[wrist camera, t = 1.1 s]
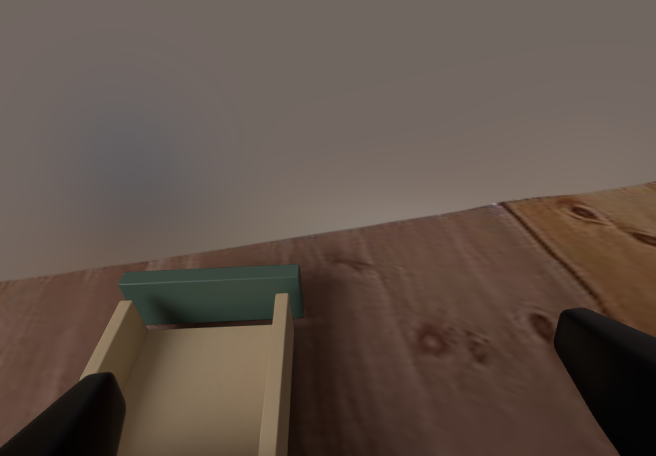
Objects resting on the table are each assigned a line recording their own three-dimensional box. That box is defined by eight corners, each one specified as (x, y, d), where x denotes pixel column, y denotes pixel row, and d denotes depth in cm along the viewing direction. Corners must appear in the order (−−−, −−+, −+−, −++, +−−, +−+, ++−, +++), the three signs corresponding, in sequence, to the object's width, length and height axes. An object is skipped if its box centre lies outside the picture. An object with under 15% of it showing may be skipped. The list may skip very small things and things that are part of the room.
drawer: (150, 300, 30) (131, 259, 27) (304, 293, 29) (299, 251, 27) (19, 599, 16) (-44, 576, 14) (295, 588, 16) (283, 563, 14)
